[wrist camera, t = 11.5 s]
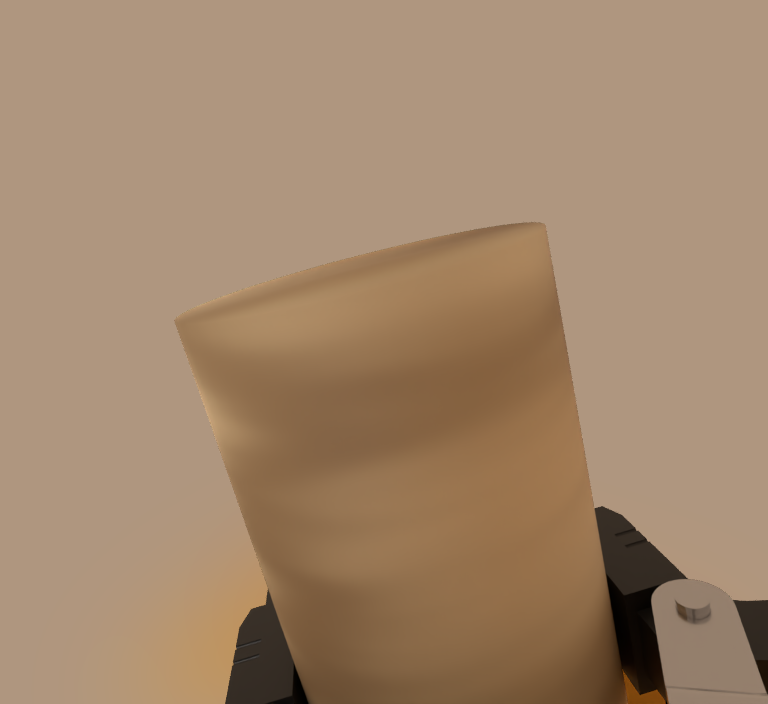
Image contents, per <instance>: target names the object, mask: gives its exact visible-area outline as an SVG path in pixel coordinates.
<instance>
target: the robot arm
mask: <svg viewBox="0 0 768 704" xmlns="http://www.w3.org/2000/svg"><path fill="white" fill-rule="evenodd" d="M595 515H596V521H597V526H598V532H599V538H600V544H601V550H602V555H603V561H604V567H605V573H606V579H607V584H608V590H609V596H610V602H611V608H612V613H613V619H614V625H615V631H616V637H617V642H618V648H619V654H620V660H621V666H622V669H623V671H624V672H625V674H626V675H627V677H628V678H629V679H630V681H631V682H632V684H633V685H634V687H635V688H636V690H637V691H638V693H639V694H640V695H641V694H644V693H647V692H651V691H654V690H658V691H659V692H660V694H661V695H662V697H663V698H664V699H665V701H666V704H768V600H762V601H737V600H732V599H731V598H730V596H729V595H727V594H726V593H725V592H724V591H723V590H721V589H720V588H718V587H716V586H714V585H711V584H709V583H706V582H703V581H698V580H691V579H687V578H686V577H685V576H684V575H683V574H682V573H681V572H680V571H679V570H678V569H677V568H676V567H675V566H674V565H673V564H672V563H671V562H670V561H669V560H668V559H667V558H666V557H665V556H664V555H663V554H662V553H660V551H658V550H657V549H656V548H655V547H654V546H653V545H652V544H651V543H650V542H648V541H647V539H646V538H645V537H644V536H643V535H642V534H641V533H640V532H639V531H636V529H635V527H634V526H633V525H632V524H631V523H630V522H629V521H627V520H626V519H625V518H624V517H623V516H622V515H621V514H618V513H616V512H614V511H612V510H609V509H607V508H605V507H603V506H601V507H598V508H595ZM236 648H237V650H235V655H234V660H233V663H234V665H233V666H232V671H231V676H230V681H229V686H228V692H227V697H226V702H225V704H308V701H307V698H306V695H305V692H304V690H303V687H302V684H301V681H300V678H299V675H298V672H297V670H296V667H295V664H294V661H293V658H292V655H291V652H290V650H289V647H288V644H287V641H286V638H285V635H284V632H283V630H282V627H281V624H280V621H279V618H278V615H277V612H276V610H275V607H274V604H273V601H272V598H271V595H270V592H269V590H268V592H267V600H266V605H264V606H260V607H256V608H253V609H251V610H250V612H249V614H248V615H247V617H246V618H245V620H244V621H243V623H242V625H241V626H240V628H239V633H238V639H237V644H236Z"/></svg>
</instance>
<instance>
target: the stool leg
mask: <svg viewBox="0 0 768 704" xmlns="http://www.w3.org/2000/svg"><path fill="white" fill-rule="evenodd" d="M174 321H175V324H176V327H177V330H178V333H179V335H180V338H181V341H182V344H183V347H184V350H185V352H186V355H187V358H188V361H189V364H190V367H191V370H192V373H193V375H194V378H195V381H196V384H197V387H198V390H199V392H200V395H201V398H202V401H203V404H204V407H205V409H206V412H207V415H208V418H209V421H210V424H211V427H212V430H213V433H214V435H215V438H216V441H217V444H218V447H219V450H220V453H221V455H222V458H223V461H224V464H225V467H226V470H227V473H228V475H229V478H230V481H231V484H232V487H233V490H234V493H235V495H236V498H237V501H238V503H239V507H240V510H241V513H242V515H243V518H244V521H245V524H246V527H247V530H248V532H249V535H250V538H251V541H252V544H253V547H254V550H255V552H256V555H257V558H258V561H259V564H260V567H261V570H262V572H263V575H264V578H265V581H266V584H267V587H268V590H269V592H270V595H271V598H272V601H273V604H274V607H275V610H276V612H277V615H278V618H279V621H280V624H281V627H282V630H283V632H284V635H285V638H286V641H287V644H288V647H289V650H290V652H291V655H292V658H293V661H294V664H295V667H296V670H297V672H298V675H299V678H300V681H301V684H302V687H303V690H304V692H305V695H306V698H307V701H308V704H628V700H627V695H626V689H625V683H624V677H623V671H622V666H621V660H620V654H619V648H618V642H617V637H616V631H615V625H614V619H613V613H612V608H611V602H610V596H609V590H608V584H607V579H606V573H605V567H604V561H603V555H602V550H601V544H600V538H599V532H598V526H597V521H596V515H595V509H594V503H593V498H592V492H591V486H590V480H589V474H588V469H587V463H586V457H585V451H584V445H583V439H582V434H581V428H580V422H579V416H578V410H577V405H576V399H575V393H574V387H573V381H572V376H571V370H570V364H569V358H568V352H567V347H566V341H565V335H564V330H563V324H562V318H561V312H560V306H559V301H558V295H557V289H556V283H555V277H554V271H553V265H552V260H551V254H550V248H549V243H548V237H547V231H546V226H545V224H543V223H536V222H535V223H534V222H531V223H518V224H508V225H500V226H494V227H487V228H482V229H476V230H470V231H465V232H460V233H455V234H450V235H445V236H440V237H435V238H430V239H426V240H421V241H417V242H413V243H408V244H404V245H399V246H396V247H391V248H387V249H383V250H379V251H375V252H371V253H367V254H363V255H359V256H355V257H351V258H347V259H344V260H340V261H336V262H332V263H329V264H325V265H321V266H318V267H314V268H311V269H307V270H304V271H300V272H297V273H294V274H290V275H287V276H283V277H280V278H277V279H273V280H270V281H267V282H264V283H260V284H257V285H254V286H251V287H248V288H245V289H242V290H239V291H236V292H233V293H230V294H228V295H225V296H222V297H220V298H217V299H214V300H211V301H209V302H206V303H204V304H201V305H199V306H197V307H194V308H192V309H190V310H188V311H186V312H184V313H182V314H181V315H179V316H178V317H176V319H175V320H174Z"/></svg>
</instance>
